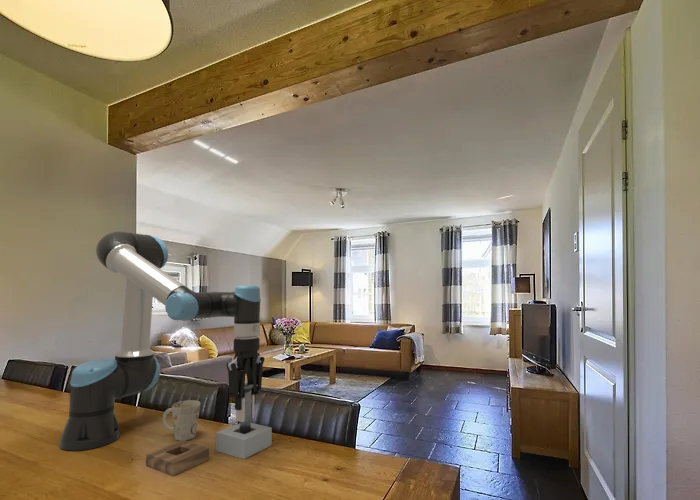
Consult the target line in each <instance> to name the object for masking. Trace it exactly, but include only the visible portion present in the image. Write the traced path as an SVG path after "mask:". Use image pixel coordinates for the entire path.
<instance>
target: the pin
mask: <svg viewBox="0 0 700 500" xmlns="http://www.w3.org/2000/svg"><path fill="white" fill-rule="evenodd" d="M252 388H253V383H247V382H245V385H244V392H243V398H245V421H244V422H240V421H239V423H240V428H239V433H242V434H246V433H249V432H251V423H252V418H251V392H252Z"/></svg>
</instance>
